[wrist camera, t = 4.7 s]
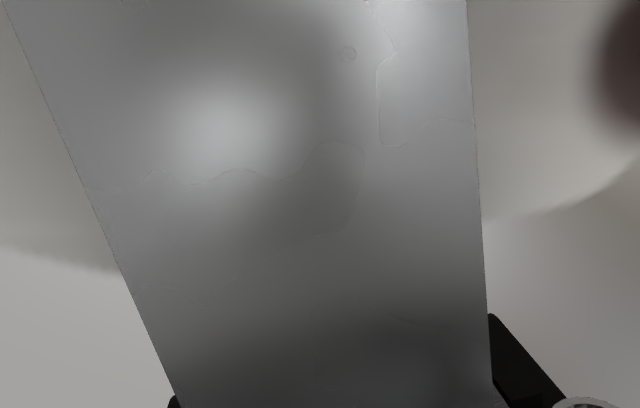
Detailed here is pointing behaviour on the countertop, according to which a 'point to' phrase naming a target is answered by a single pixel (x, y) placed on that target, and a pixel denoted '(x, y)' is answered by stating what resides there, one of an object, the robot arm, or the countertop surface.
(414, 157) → the shaft
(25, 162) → the countertop surface
